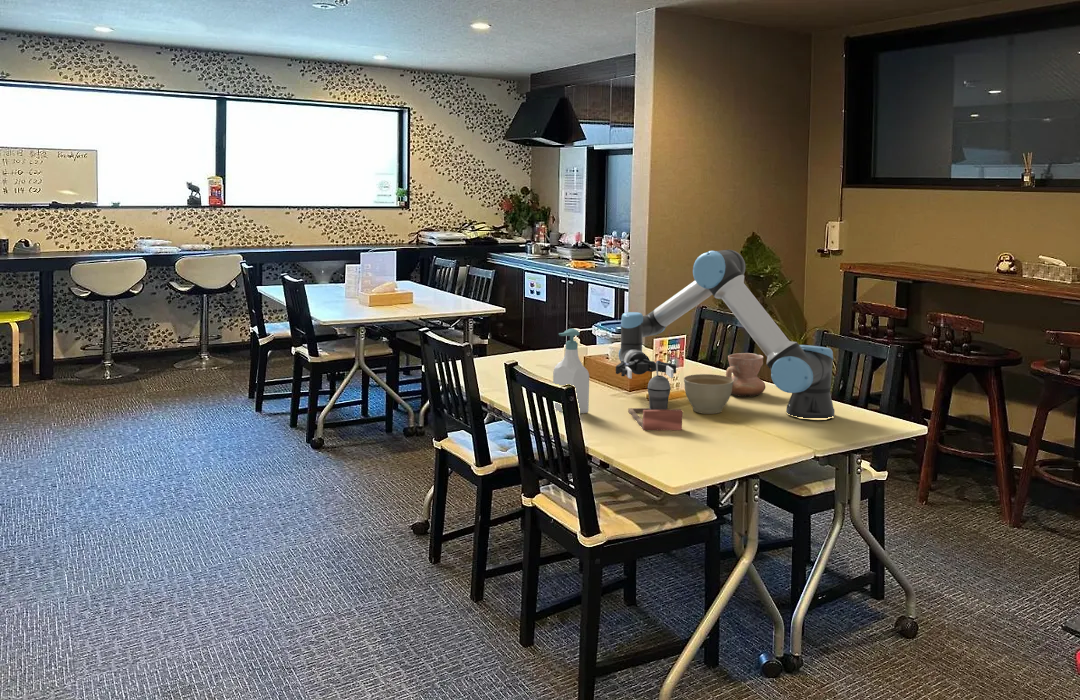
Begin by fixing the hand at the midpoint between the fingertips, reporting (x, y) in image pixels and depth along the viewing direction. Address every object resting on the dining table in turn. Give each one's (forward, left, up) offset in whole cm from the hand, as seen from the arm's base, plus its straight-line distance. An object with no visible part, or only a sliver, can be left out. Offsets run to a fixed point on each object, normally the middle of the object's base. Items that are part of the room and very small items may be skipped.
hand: (651, 374), depth 292 cm
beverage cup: (-9, +5, -14) cm, 17 cm away
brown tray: (-4, +3, -14) cm, 15 cm away
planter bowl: (-5, -21, -14) cm, 26 cm away
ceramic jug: (+5, -50, -14) cm, 52 cm away
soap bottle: (+20, +18, -14) cm, 30 cm away
